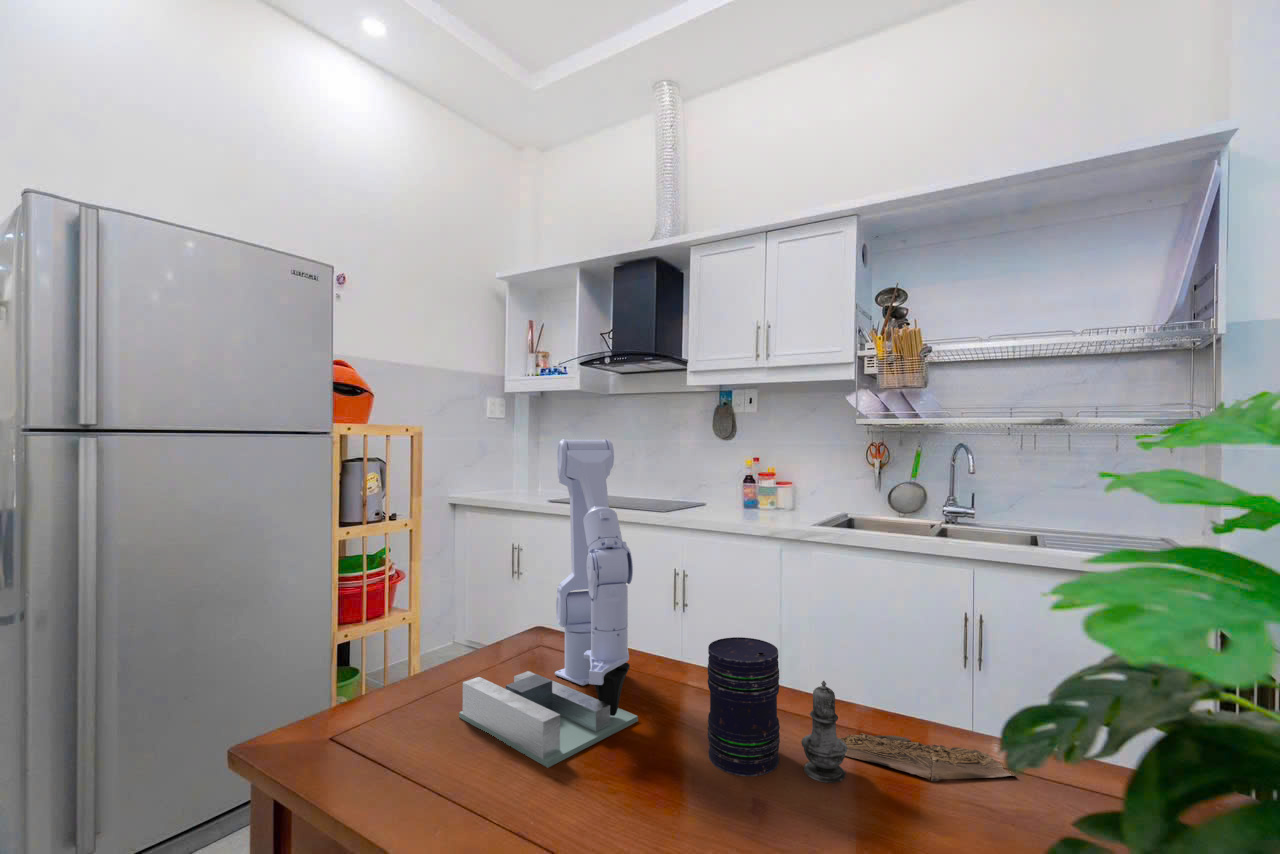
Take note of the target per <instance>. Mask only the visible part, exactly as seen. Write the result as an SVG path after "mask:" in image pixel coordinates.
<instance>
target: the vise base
mask: <svg viewBox="0 0 1280 854" xmlns="http://www.w3.org/2000/svg"><path fill="white" fill-rule="evenodd" d="M553 681H554V682H556V683H558V684H561V685H563V686H566V685H564V684H562V683H559V682H557V681H555V680H553ZM566 687H568V688H570V689H573V690H575V691H578V692H580V693H582V694H585V695H587V696H590V697H592V698H594V699H597V700H599V699H598V698H595V697H593V696H591V695H588V694H586V693H583V692H582V691H579V690H576V689H574V688H571V687H569V686H566ZM458 712H459V713H458V718H459V719H461V720H462V721H465V722H467V723H468V724H470V725H472V726H474V727H475V728H478V730H480V729H481V731H482V730H483V731H482V732H484V731H485V732H484V733H486V732H487V733H489V734H491V735H492V736H491V735H490V736H491V737H493V736H495V737H496V738H497V739H496V738H495V739H496V740H498V739H499V740H498V741H500V740H501V741H503V742H504V743H503V742H502V743H503V744H505V743H506V744H505V745H506V746H509V747H510V746H511V748H512V749H514V750H515V751H518V752H519V753H521V754H523V755H524V754H525V755H524V756H527V757H528V758H530V759H532V760H533V761H535V762H537V763H538V764H541V765H542V766H543V767H546V768H547V769H548V768H550V767H551V768H552V767H553V766H554V765H556V764H558V763H560V762H562V761H564V760H566V759H568V758H570V757H571V756H574V755H576V754H577V753H579V752H581V751H583V750H586V749H587V748H589V747H591V746H592V745H595V744H597V743H599V742H600V741H602V740H604V739H606V738H608V737H611V736H613V735H614V734H616V733H619V732H620V731H622V730H624V729H625V728H628V727H630V726H632V725H633V724H635V723H637V722H638V721H639V716H638V715H636V714H634V713H632V712H629V711H627V710H624V709H622V708H619V707H618V710H617V713H616V714H615V716H611V715H610V725H609V726H607V727H605V728H603V729H601V730H599V731H597V732H594V731H592V730H590V729H588V728H586V727H584V726H582V725H579V724H577V723H575V722H573V721H571V720H569V719H567V718H564V717H562V716H560V714H558V713H556V712H554V711H552V710H550V709H547V708H545V707H543V706H541V705H539V704H537V703H535V702H532V701H530V700H528V699H526V698H524V697H522V696H520V695H517V694H515V693H513V692H511V691H509V690H507V689H506V687H505V688H504V687H503V686H501V685H499V684H496V683H494V682H492V681H490V680H487V679H485V678H483V677H480V676H478V677H475V678H471V679H468V680H464V681H463V682H462V710H461V711H458ZM487 733H486V734H487ZM489 734H488V735H489ZM501 741H500V742H501Z"/></svg>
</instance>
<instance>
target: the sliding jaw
mask: <svg viewBox="0 0 1280 854" xmlns="http://www.w3.org/2000/svg"><path fill="white" fill-rule="evenodd" d="M535 674H536V673H535V672H532V671H530V670H527V671H525V672H522V673H521V672H520V673H519V674H517V675H514V676H513V682H516V681H519V680H521V679H524V678H527V677H530V676H532V675H535ZM554 681H555V680H552V711H554V712H556V713H558V714H560V716H562V717H564V718H567V719H569V720H571V721H573V722H575V723H577V724H579V725H582V726H584V727H586V728H588V729H590V730H592V731H594V732H597V731H599V730H601V729H603V728H605V727H607V726H609V725H610V705H609V704H607V703H604V702H602V701H599V699H598V698H596V699H594V698H595V697H593V696H591V695H588V694H586V693H584V694H582V693H583V692H581V691H579V690H576V689H574V688H572V689H570V688H571V687H569V686H567V687H566V685H564V684H562V683H559V682H557V681H555V682H554ZM556 682H557V683H556ZM558 683H559V684H558ZM561 684H562V685H561ZM563 685H564V686H563ZM568 687H569V688H568ZM573 689H574V690H573ZM575 690H576V691H575ZM578 691H579V692H578ZM580 692H581V693H580ZM585 694H586V695H585ZM587 695H588V696H587ZM590 696H591V697H590ZM592 697H593V698H592ZM597 699H598V700H597Z"/></svg>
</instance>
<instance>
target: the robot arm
mask: <svg viewBox="0 0 1280 854" xmlns="http://www.w3.org/2000/svg"><path fill="white" fill-rule="evenodd" d="M556 458H557V479H558V483H559V484H561V485H564V486H566V488H567V490H568V495H569V513H570V514H569V517H570V520H569V521H570V559H571V560H570V561H571V563H570V564H571V573H570V574H569V575H568V576H566V577H565V578H564V579H563V580H561V582H560V583H559V584H558V586H557V589H556V590H557V592H556V594H557V595H556V596H557V597H556V600H555V601H556V602H555V608H556V609H555V610H556V613H555V614H556V621H557V624H558V625H559V626H560V627H561V628H564V668H561V669H559V670H556V671H555V672H554V675H555V676H557V677H560V678H561V679H562V678H563V679H564V680H567V681H569V682H572V683H574V684H577V685H579V686H586V685H593V686H594V688H595V691H596V694H597V699H598V700H599V701H602V702H604V703H607V704H609V705H610V715H611V716H615V714H616V713H617V710H618V708H619V704H620V700H621V694H622V689H623V686H624V683H625V679H626V677H627V674H628V672H629V670H630V664H629V663H628V661H629V660H630V654H629V653H630V652H629V649H628V646H629V643H628V638H629V637H628V636H629V635H628V634H629V632H628V631H629V630H628V628H629V626H628V624H629V622H628V621H629V619H628V617H629V616H628V615H629V614H628V612H629V611H628V610H629V609H628V608H629V607H628V600H629V598H628V595H629V594H628V593H629V590H628V589H629V588H628V585H630V584H631V583H632V581H633V574H634V572H633V571H634V565H633V564H634V563H633V557H632V552H631V549H630V548H629V546H627V542H626V541H624V540H623V537H622V532H621V527H620V523H619V518H618V514H617V512H616V511H615V510H614V509H613V508H610V506H609V496H608V486H607V478H609V476H610V474H611V472H612V471H611V470H612V469H613V466H614V463H615V462H614V461H615V449H614V445H613V442H611V440H610V439H609V438H605V439H566V438H562V439H561V440H560V441H559V442H558V445H557V457H556ZM627 584H628V585H627ZM579 590H580V591H579Z"/></svg>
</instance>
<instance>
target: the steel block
mask: <svg viewBox="0 0 1280 854" xmlns="http://www.w3.org/2000/svg"><path fill="white" fill-rule="evenodd" d="M534 674H535V675H532V676H530V677H527V678H524V679H521V680H519V681H516V682H514V681H513V682H511V683H508V684H505V689H507V690H509V691H511V692H513V693H515V694H517V695H520V696H522V697H524V698H526V699H528V700H530V701H532V702H535V703H537V704H539V705H541V706H543V707H545V708H547V709H550V710H552V681H553V680H551V679H549V678H546V677H545V676H542V675H539V674H537V673H534Z"/></svg>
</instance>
